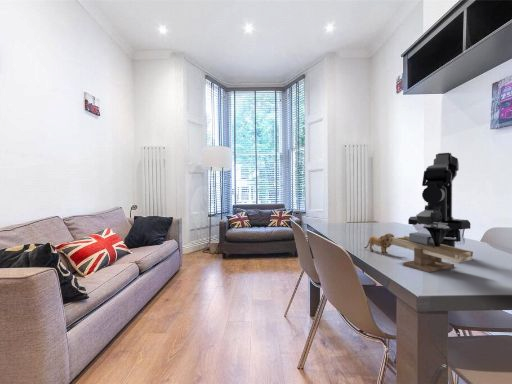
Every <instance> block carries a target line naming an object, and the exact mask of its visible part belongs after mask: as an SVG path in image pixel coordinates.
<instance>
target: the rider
mask: <svg viewBox="0 0 512 384" xmlns="http://www.w3.org/2000/svg"><path fill="white" fill-rule="evenodd" d="M408 237H409V241H410V242H414V243H418V244H422V245H426V246H430V247H434V248H435V244H434V241H433V239H432V237H431V234H430V233H428V234H427V233H423V232H420V231H417V232H410V233H408Z"/></svg>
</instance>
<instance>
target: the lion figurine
mask: <svg viewBox="0 0 512 384" xmlns="http://www.w3.org/2000/svg"><path fill="white" fill-rule="evenodd" d="M392 237H394V238H395V235H394V234H393V233H385V234H384V235H382V236H380V237H376V236H375V235H374V236H373V235H371V236H370V237H369V238H368V242H367V245H366V246H365V247H363V249H368V247H369V252H373V251H374V250H373V246H374V245H375V246H376V247H380V249H381V255H386V254H388V253H389V252H388V251H387V249H388V248H390V247H391V246H392V244H391V238H392Z"/></svg>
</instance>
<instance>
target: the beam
mask: <svg viewBox="0 0 512 384" xmlns="http://www.w3.org/2000/svg"><path fill="white" fill-rule="evenodd" d="M391 244H392V245H393V246H396V247H400V248H403V249H405V250H406V249H408V250H409V251H413V252H414V248H421V249H423V253H424V254H428V255H432V256H435V257H439V258H442V260H447V261H450V262H454V263H456V264H457V263H463V262H467V261H472V260H473V256H474V251H471V250H468V249H463V248H459V247H456V246H455V247H451V246H447V245H443V244H440V246H439V247H436V246H435V248H434V247H430V246H426V245H422V244H418V243H414V242H410V241H409V235H404V236H400V237H395V236H394V237H392V238H391ZM392 245H391V246H392Z"/></svg>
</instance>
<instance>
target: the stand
mask: <svg viewBox="0 0 512 384" xmlns="http://www.w3.org/2000/svg"><path fill="white" fill-rule="evenodd" d="M413 252H414V253H413V254H414V255H413V260H410V261H409V260H408V261H404V262H402V266H404V267H408V268H412V269H416V270H420V271H423V272H427V273H431V272H436V271H437V272H438V271H440V270H441V271H442V270H445V269H452V268H455V264H454V263H450V262H446V261H442V260H443V259H442V258H439V257H435V256H432V255H428V254H424V253H423V249H421V248H414V251H413Z"/></svg>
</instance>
